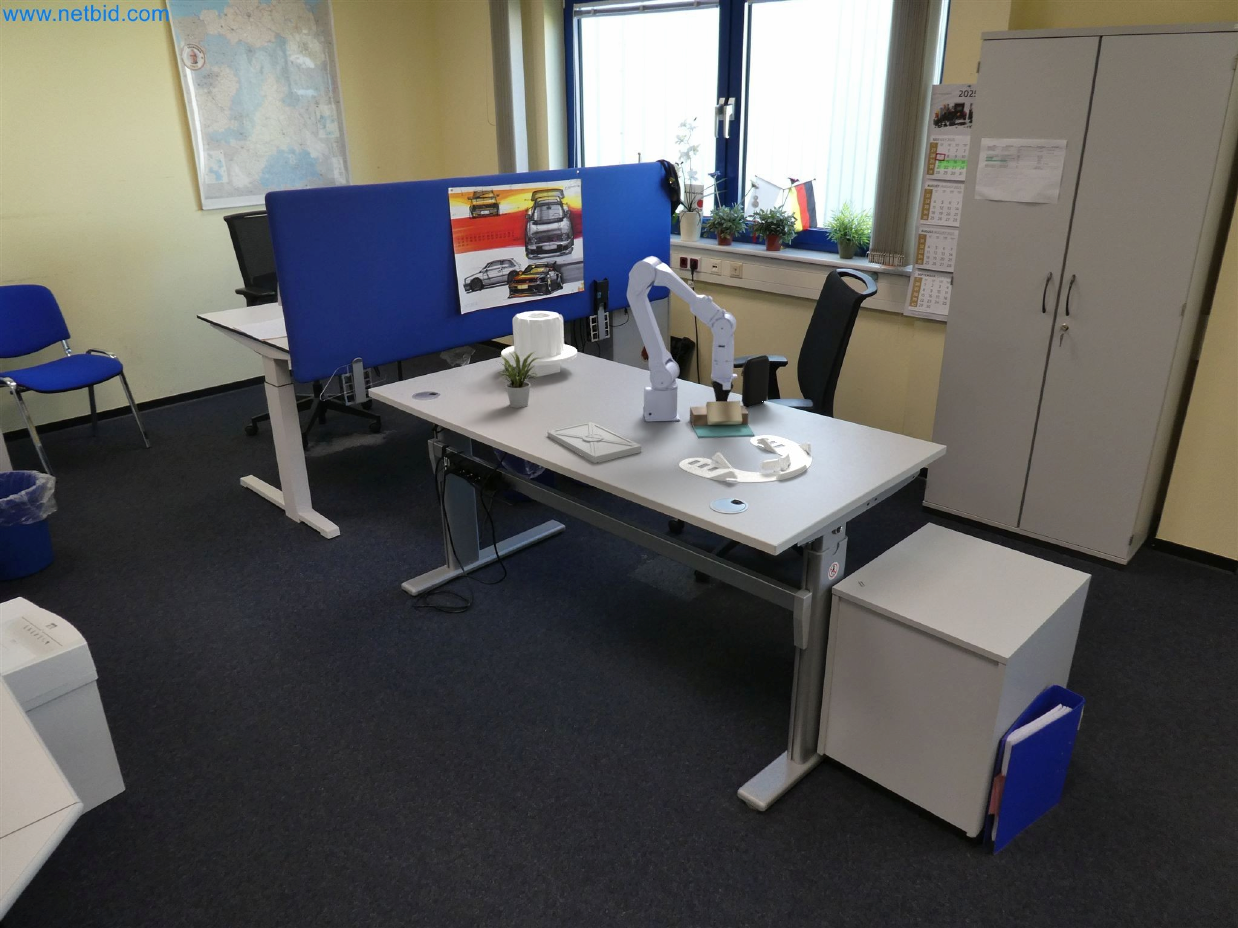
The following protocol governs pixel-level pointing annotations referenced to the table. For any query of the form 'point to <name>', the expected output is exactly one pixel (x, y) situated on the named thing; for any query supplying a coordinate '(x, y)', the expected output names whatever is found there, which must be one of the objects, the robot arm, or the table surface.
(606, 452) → the envelope
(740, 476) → the cable organizer
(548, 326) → the flanged gear
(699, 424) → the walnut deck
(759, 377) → the carrying case or bag
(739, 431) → the teal mat
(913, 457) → the table surface
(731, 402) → the cream rectangular block
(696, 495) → the table surface
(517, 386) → the house plant
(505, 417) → the table surface
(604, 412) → the table surface
